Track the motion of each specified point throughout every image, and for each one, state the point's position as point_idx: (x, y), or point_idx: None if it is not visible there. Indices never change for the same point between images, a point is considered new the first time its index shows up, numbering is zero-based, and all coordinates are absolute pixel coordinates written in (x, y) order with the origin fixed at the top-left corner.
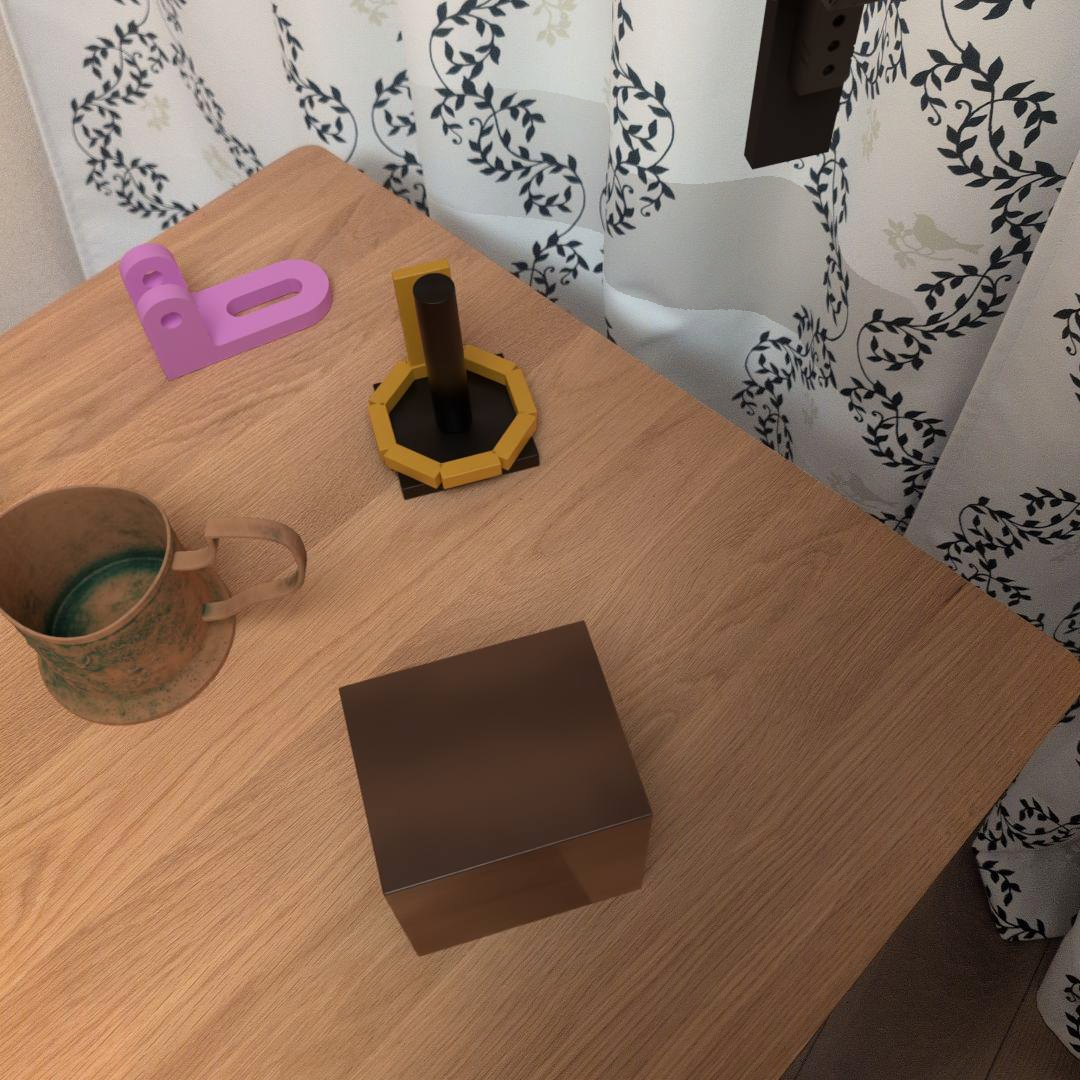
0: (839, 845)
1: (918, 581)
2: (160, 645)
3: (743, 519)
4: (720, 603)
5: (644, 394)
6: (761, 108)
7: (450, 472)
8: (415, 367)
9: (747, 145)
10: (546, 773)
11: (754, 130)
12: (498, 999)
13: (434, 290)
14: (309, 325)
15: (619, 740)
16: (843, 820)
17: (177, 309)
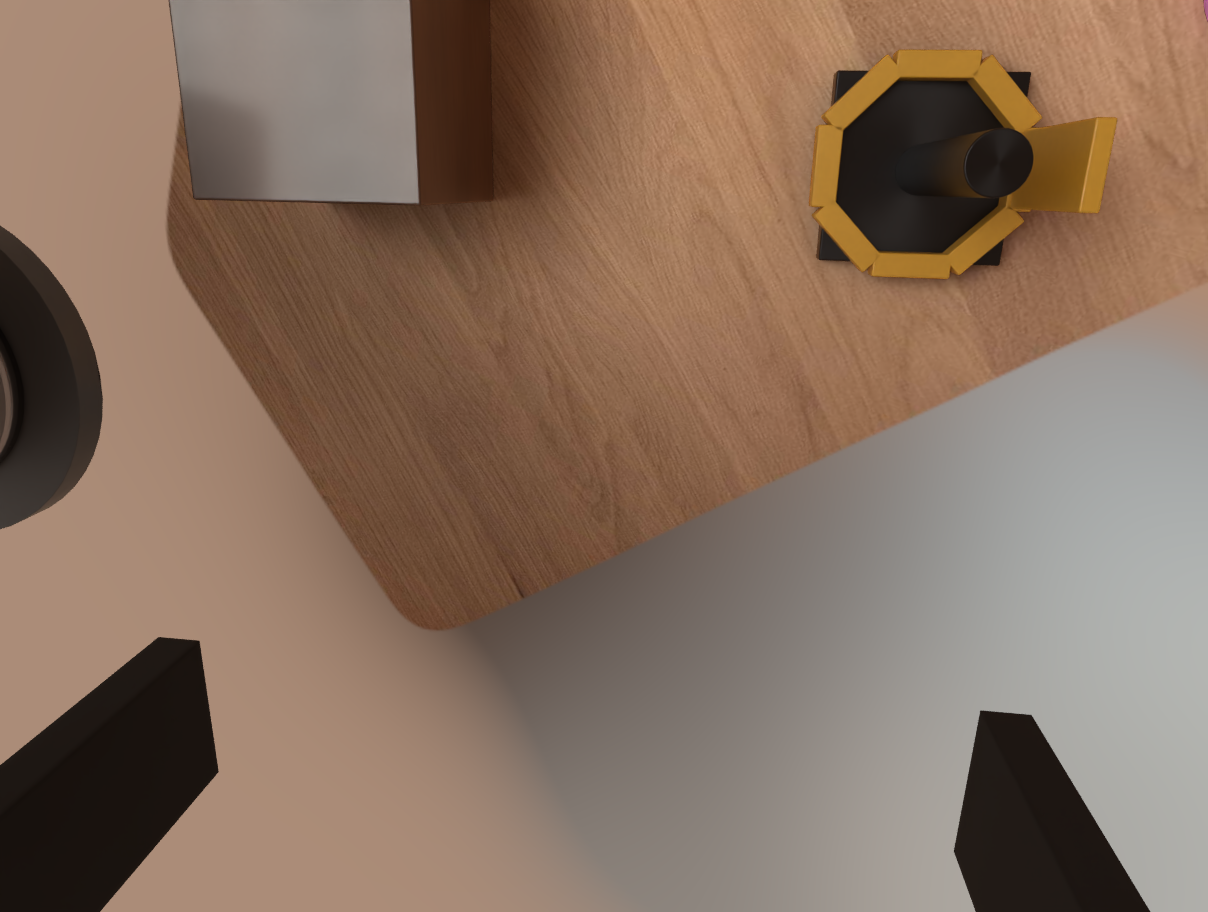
0: (321, 383)
1: (540, 566)
2: None
3: (661, 446)
4: (575, 383)
5: (865, 412)
6: (60, 720)
7: (824, 138)
8: None
9: (169, 655)
10: (252, 100)
11: (115, 682)
12: None
13: (993, 163)
14: (1205, 1)
15: (273, 193)
16: (341, 396)
17: None
